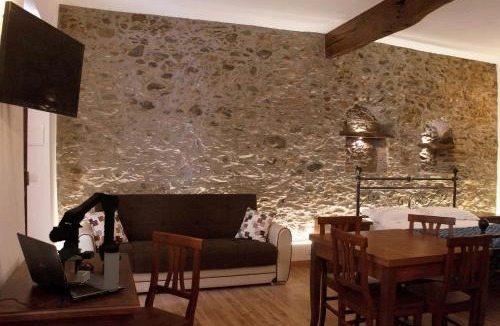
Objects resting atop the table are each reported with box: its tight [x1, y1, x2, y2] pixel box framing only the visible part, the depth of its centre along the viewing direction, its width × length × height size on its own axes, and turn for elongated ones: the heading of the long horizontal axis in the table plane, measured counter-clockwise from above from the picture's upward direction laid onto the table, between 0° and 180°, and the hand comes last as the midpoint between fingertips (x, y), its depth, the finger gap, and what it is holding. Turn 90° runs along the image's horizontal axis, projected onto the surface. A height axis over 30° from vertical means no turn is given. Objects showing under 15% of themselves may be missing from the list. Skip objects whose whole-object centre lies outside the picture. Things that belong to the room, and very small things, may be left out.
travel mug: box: [103, 243, 121, 293], centre depth 184 cm, size 6×7×20 cm
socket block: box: [75, 270, 91, 283], centre depth 194 cm, size 8×8×4 cm
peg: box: [64, 260, 77, 282], centre depth 186 cm, size 4×4×9 cm
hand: (71, 273), depth 186 cm, fingers closed on peg, 4 cm apart
